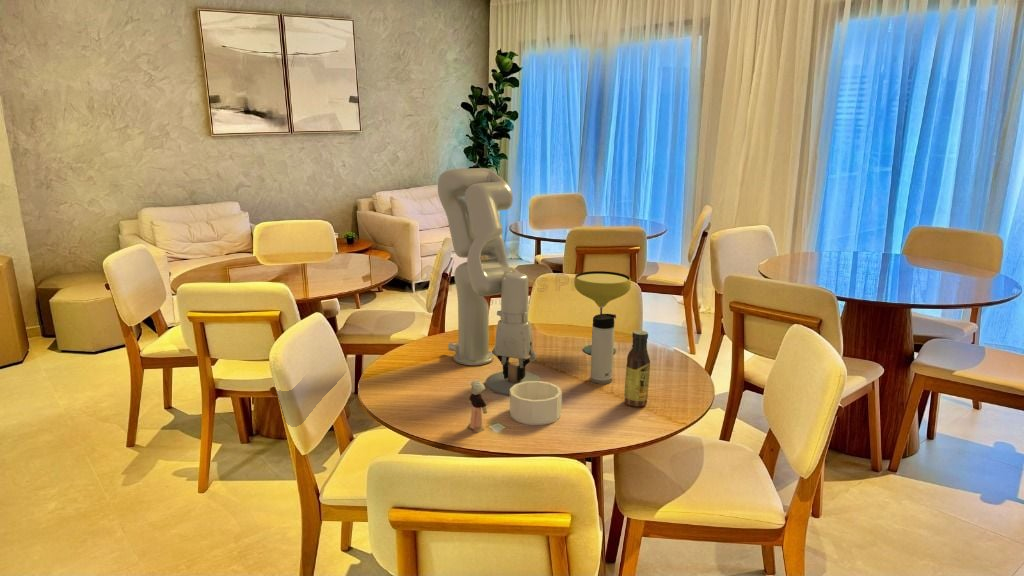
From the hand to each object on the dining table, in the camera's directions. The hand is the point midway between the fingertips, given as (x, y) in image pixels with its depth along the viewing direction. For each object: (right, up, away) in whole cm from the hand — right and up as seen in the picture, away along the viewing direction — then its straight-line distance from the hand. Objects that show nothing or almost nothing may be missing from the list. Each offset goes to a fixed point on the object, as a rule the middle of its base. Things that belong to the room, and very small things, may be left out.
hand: (513, 377), depth 190 cm
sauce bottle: (+33, -5, -11) cm, 35 cm away
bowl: (+5, -7, -19) cm, 21 cm away
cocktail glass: (+28, +5, +30) cm, 41 cm away
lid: (0, -2, +1) cm, 2 cm away
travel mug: (+26, -2, +5) cm, 26 cm away
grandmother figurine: (-9, -9, -27) cm, 30 cm away
